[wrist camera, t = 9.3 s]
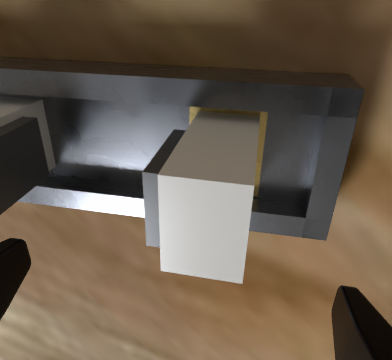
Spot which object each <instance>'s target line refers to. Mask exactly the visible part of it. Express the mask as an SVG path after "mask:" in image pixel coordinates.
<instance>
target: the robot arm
mask: <svg viewBox="0 0 392 360" xmlns="http://www.w3.org/2000/svg"><path fill="white" fill-rule="evenodd" d="M30 266H31V258H30V255H29V251H28V248H27V244H26V242H25V241H24V240H22V239H16V238H9V239H7V240H4V241H2V242H0V320H1V318H2V317H3V315H4V314H5V312H6V310H7V308H8V307H9V305H10V303H11V301H12V300H13V298H14V296H15V294H16V292H17V290H18V289H19V287H20V285H21V283H22V281H23V280H24V278H25V276H26V274H27V272H28V271H29V269H30ZM332 326H333V338H334V349H335V360H392V327H391V325H390V324H389V323H388V322H387V321H386V320H385V319H384V318H383V316H382V315H381V314H380V313H379V312H378V311H377V310H376V309H375V308H374V306H373V305H372V304H371V303H370V302H369V301H368V300H367V299H366V297H365V296H364V295H363V294H362V293H361V292H360V291H359V290H358V289H357V288H355V287H349V286H339V288H338V290H337V293H336V297H335V300H334V303H333V307H332Z"/></svg>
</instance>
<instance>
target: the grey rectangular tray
mask: <svg viewBox="0 0 392 360" xmlns="http://www.w3.org/2000/svg"><path fill="white" fill-rule="evenodd" d="M363 93H364V88H363V87H362V86H360V85H359V84H358V83H357V82H356V81H355V80H354V79H353V78H352V77H351V76H350V75H346V74H326V73H306V72H286V71H266V70H246V69H227V68H207V67H187V66H167V65H147V64H128V63H108V62H88V61H68V60H48V59H29V58H9V57H0V96H5V97H19V98H33V99H42V100H43V105H44V110H45V115H46V120H47V125H48V130H49V134H50V139H51V144H52V149H53V154H54V159H55V164H56V167H54V168H53V169H52V170H50V171H49V174H50V176H48V177H47V178H46V179H45V180H43V181H42V182H41V183H39V184H38V185H37V186H36V187H34V188H33V189H32V190H31V191H29V192H28V193H27V194H26V195H24V196H23V197H22V198H21V199H19V200H18V201H19V202H27V203H35V204H42V205H50V206H58V207H66V208H74V209H82V210H90V211H98V212H105V213H113V214H121V215H129V216H137V217H145V212H144V195H143V178H142V172H143V170H144V169H145V168H146V166H147V165H148V164H149V162H150V161H151V160H152V158H153V157H154V155H155V154H156V153H157V151H158V150H159V149H160V147H161V146H162V145H163V143H164V142H165V141H166V139H167V138H168V137H169V135H170V134H171V133H172V131H173V130H174V129H177V130H187V128H188V127H189V125H190V123H191V122H192V120H193V119H194V117H195V116H196V114H197V113H198V111H207V112H220V113H232V114H245V115H257V116H260V124H259V136H258V148H257V160H256V173H255V185H254V193H253V201H252V209H251V218H250V226H249V231H255V232H263V233H271V234H279V235H286V236H294V237H302V238H310V239H318V240H326V239H327V235H328V231H329V227H330V223H331V219H332V215H333V212H334V208H335V204H336V200H337V196H338V192H339V188H340V184H341V180H342V176H343V172H344V168H345V164H346V160H347V156H348V152H349V148H350V144H351V140H352V136H353V132H354V128H355V124H356V120H357V116H358V112H359V109H360V105H361V101H362V97H363Z"/></svg>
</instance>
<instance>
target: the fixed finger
mask: <svg viewBox="0 0 392 360" xmlns="http://www.w3.org/2000/svg"><path fill="white" fill-rule="evenodd" d="M54 167H56V164H55V159H54V154H53V149H52V144H51V139H50V134H49V130H48V125H47V120H46V115H45V110H44V105H43V100H42V99H33V98H19V97H5V96H0V215H1V214H2V213H3V212H4V211H6V210H7V209H8V208H9V207H11V206H12V205H13V204H14V203H16V202H17V201H18V200H19V199H21V198H22V197H23V196H24V195H26V194H27V193H28V192H29V191H31V190H32V189H33V188H34V187H36V186H37V185H38V184H39V183H41V182H42V181H43V180H45V179H46V178H47V177H48V176H50V174H49V171H50V170H52V169H53V168H54Z"/></svg>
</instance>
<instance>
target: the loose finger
mask: <svg viewBox="0 0 392 360" xmlns="http://www.w3.org/2000/svg"><path fill="white" fill-rule="evenodd" d="M259 124H260V116H257V115H245V114H232V113H220V112H207V111H198V113H197V114H196V116H195V117H194V119H193V120H192V122H191V123H190V125H189V127H188V128H187V130H177V129H174V130H173V131H172V133H171V134H170V135H169V137H168V138H167V139H166V141H165V142H164V143H163V145H162V146H161V147H160V149H159V150H158V151H157V153H156V154H155V155H154V157H153V158H152V160H151V161H150V162H149V164H148V165H147V166H146V168H145V169H144V170H143V172H142V178H143V195H144V212H145V229H146V245H147V246H153V247H160V260H161V271H165V272H172V273H178V274H184V275H190V276H197V277H203V278H209V279H216V280H222V281H228V282H234V283H241V284H242V282H243V274H244V266H245V258H246V250H247V242H248V234H249V226H250V218H251V209H252V201H253V193H254V185H255V173H256V160H257V148H258V136H259Z"/></svg>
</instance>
